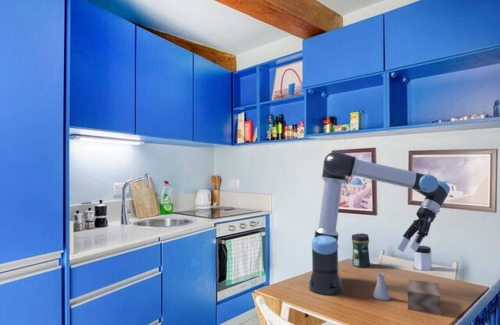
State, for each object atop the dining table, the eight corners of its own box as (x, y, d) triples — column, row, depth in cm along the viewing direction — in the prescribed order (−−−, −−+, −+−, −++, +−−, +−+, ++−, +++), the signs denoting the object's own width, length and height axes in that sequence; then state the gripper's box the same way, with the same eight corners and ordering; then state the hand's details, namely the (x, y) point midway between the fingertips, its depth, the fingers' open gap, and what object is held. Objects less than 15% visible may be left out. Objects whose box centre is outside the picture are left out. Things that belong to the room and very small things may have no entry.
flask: (392, 301, 131) (391, 277, 131) (374, 300, 132) (373, 276, 133) (388, 295, 138) (387, 272, 139) (371, 294, 140) (370, 271, 140)
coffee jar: (362, 263, 190) (361, 232, 191) (372, 266, 183) (371, 234, 183) (349, 264, 186) (349, 233, 187) (359, 268, 179) (358, 235, 179)
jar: (435, 269, 175) (434, 248, 175) (424, 271, 172) (424, 249, 173) (421, 265, 183) (421, 244, 184) (411, 267, 180) (410, 246, 181)
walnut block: (407, 309, 123) (407, 291, 124) (409, 295, 137) (408, 279, 138) (440, 314, 118) (440, 295, 118) (438, 300, 132) (438, 283, 132)
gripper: (450, 211, 134) (427, 254, 129) (423, 219, 158) (402, 255, 153) (433, 201, 136) (410, 243, 131) (409, 210, 159) (388, 246, 155)
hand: (406, 249), depth 142 cm, fingers open, 13 cm apart
